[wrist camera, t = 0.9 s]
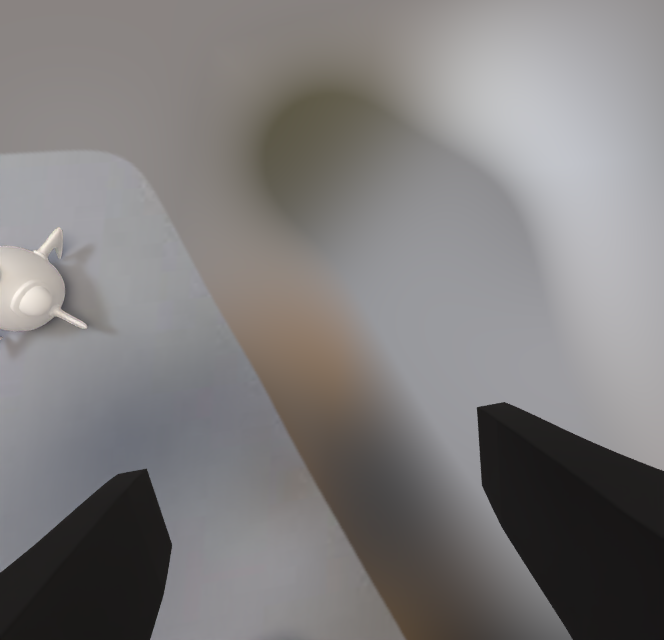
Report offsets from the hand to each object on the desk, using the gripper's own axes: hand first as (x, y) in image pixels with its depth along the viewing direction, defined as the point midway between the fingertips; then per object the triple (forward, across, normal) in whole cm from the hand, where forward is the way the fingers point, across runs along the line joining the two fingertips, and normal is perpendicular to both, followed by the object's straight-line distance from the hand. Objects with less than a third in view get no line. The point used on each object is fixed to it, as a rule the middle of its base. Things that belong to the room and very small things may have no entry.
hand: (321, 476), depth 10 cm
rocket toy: (+18, +15, -2) cm, 24 cm away
